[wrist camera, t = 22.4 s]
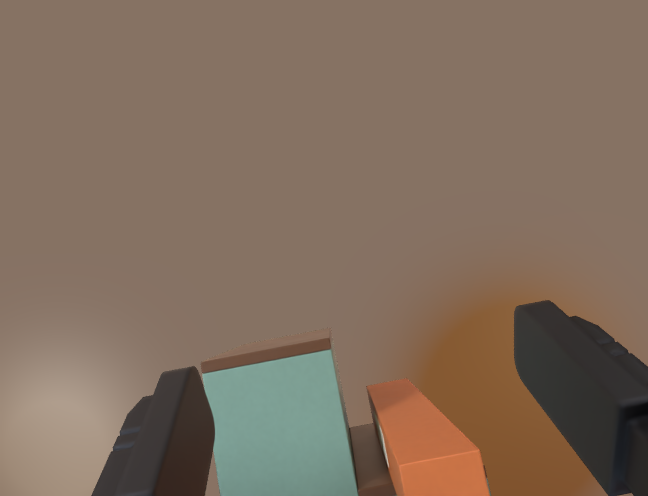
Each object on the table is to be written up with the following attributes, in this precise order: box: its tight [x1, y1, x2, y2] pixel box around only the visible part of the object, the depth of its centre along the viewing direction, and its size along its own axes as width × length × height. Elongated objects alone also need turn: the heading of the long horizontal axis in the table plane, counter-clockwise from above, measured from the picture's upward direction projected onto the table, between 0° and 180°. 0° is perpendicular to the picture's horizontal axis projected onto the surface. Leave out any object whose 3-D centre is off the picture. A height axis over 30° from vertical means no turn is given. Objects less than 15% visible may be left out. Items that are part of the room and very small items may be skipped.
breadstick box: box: [367, 379, 490, 496], centre depth 32 cm, size 22×4×4 cm, turn 179°
